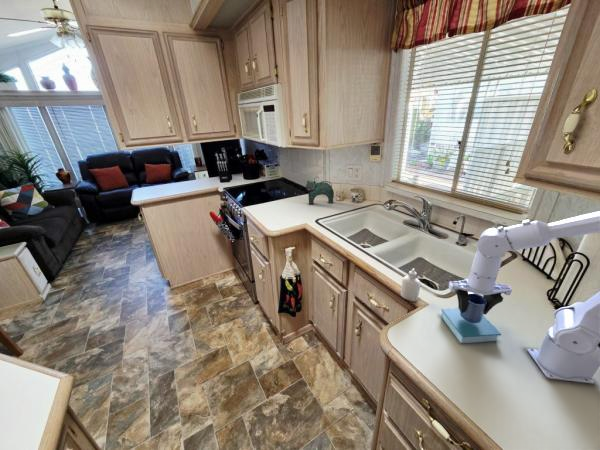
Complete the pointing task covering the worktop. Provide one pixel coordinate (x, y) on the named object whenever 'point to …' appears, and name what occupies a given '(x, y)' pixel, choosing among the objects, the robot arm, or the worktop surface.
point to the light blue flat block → (469, 327)
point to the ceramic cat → (319, 190)
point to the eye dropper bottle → (410, 286)
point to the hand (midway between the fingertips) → (472, 311)
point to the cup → (474, 308)
